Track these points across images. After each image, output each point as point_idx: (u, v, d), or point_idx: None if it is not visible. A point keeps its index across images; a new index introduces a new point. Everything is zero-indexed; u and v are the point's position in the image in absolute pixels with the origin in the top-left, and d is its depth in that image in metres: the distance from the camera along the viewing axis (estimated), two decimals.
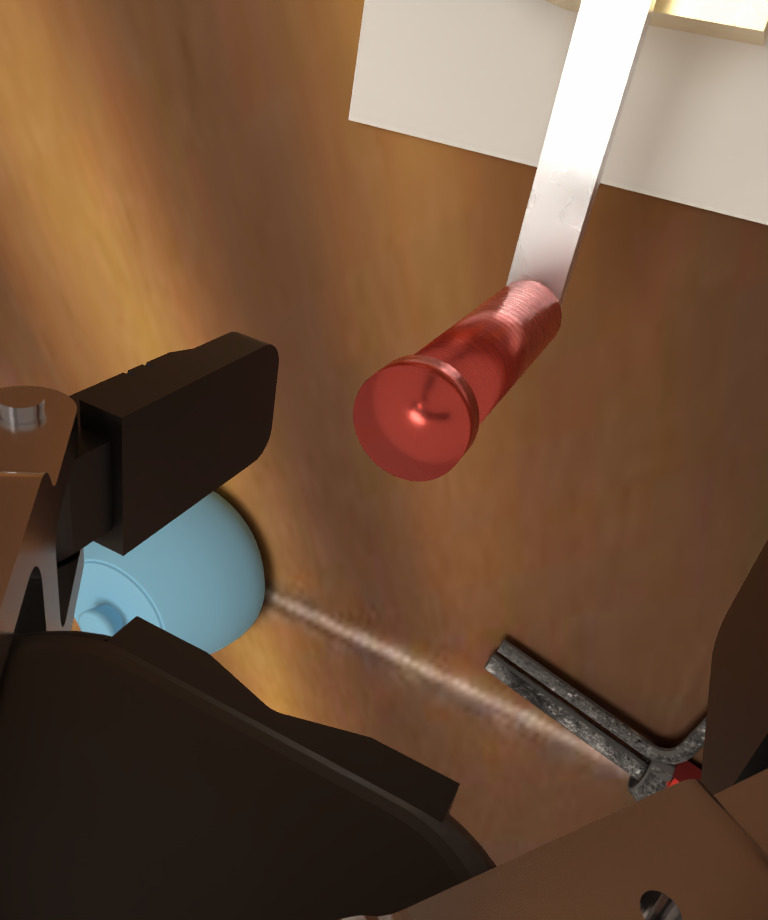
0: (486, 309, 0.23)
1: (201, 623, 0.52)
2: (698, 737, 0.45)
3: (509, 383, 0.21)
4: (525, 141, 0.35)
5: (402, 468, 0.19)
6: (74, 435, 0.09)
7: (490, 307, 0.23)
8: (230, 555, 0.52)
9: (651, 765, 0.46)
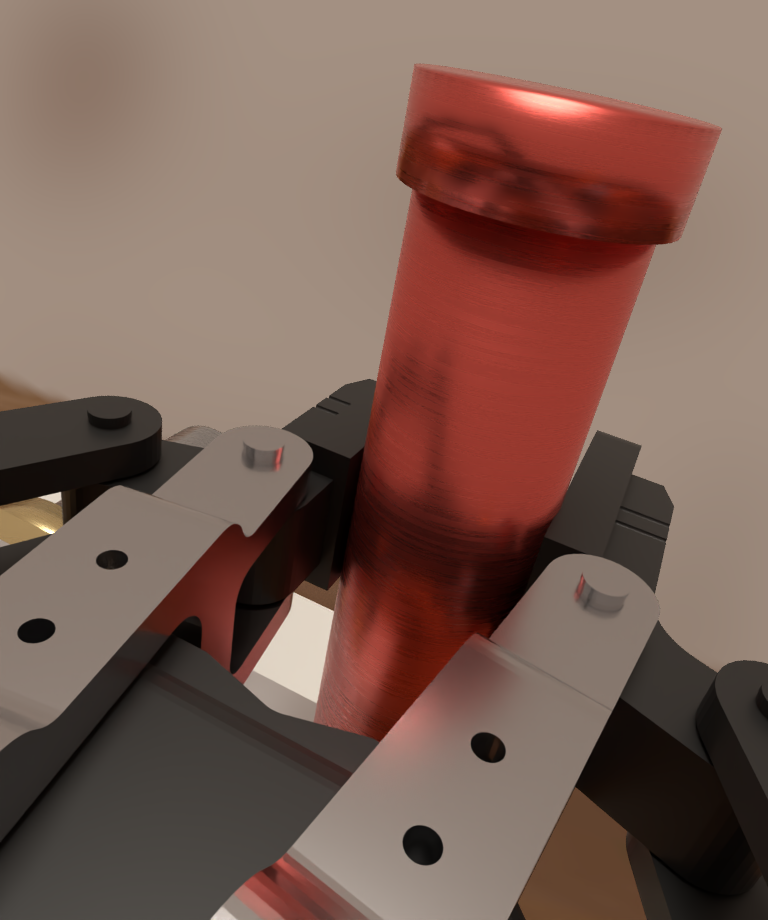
0: (340, 578, 0.11)
1: None
2: None
3: None
4: None
5: (690, 122, 0.07)
6: (299, 487, 0.09)
7: None
8: None
9: None
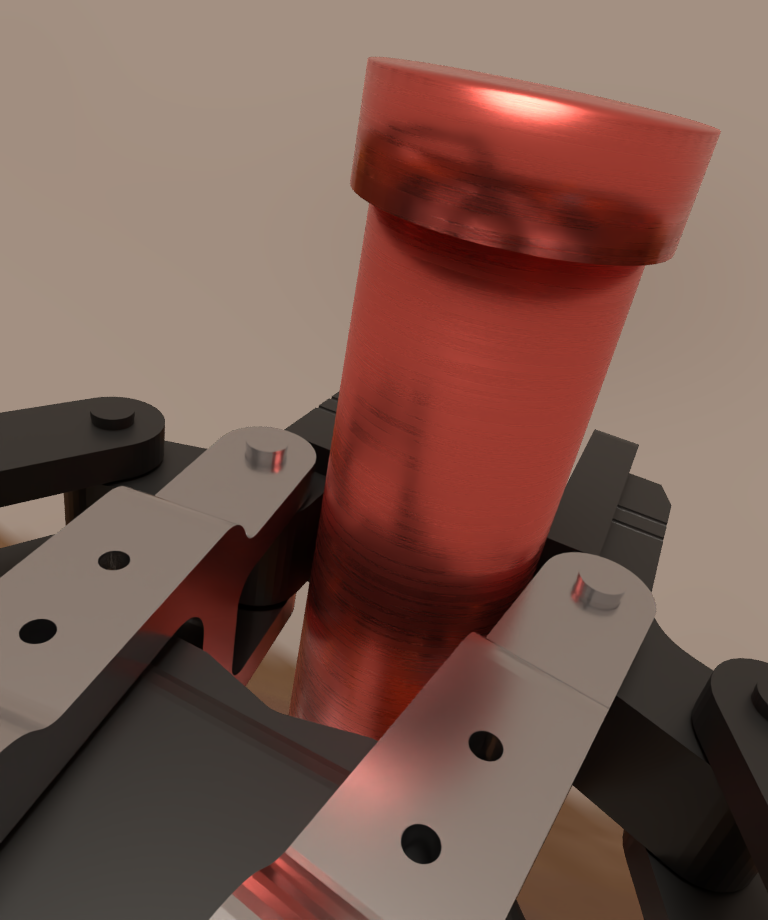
0: (321, 683, 0.09)
1: None
2: None
3: None
4: None
5: (642, 109, 0.07)
6: (302, 489, 0.09)
7: (316, 695, 0.09)
8: None
9: None
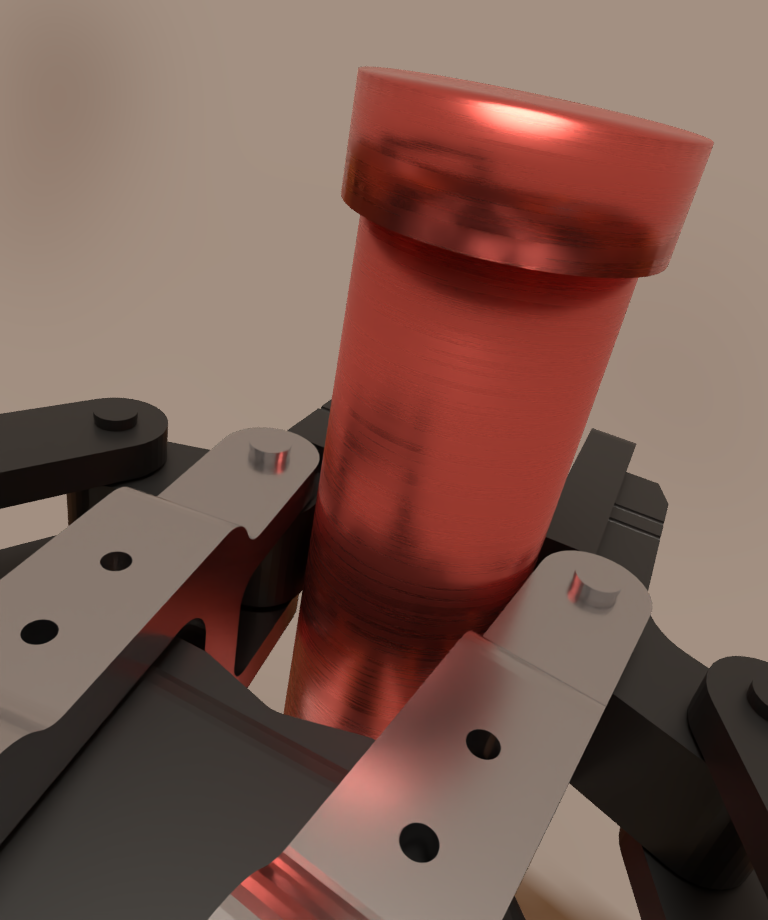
0: (372, 732, 0.08)
1: None
2: None
3: None
4: None
5: (567, 103, 0.07)
6: (305, 490, 0.09)
7: None
8: None
9: None
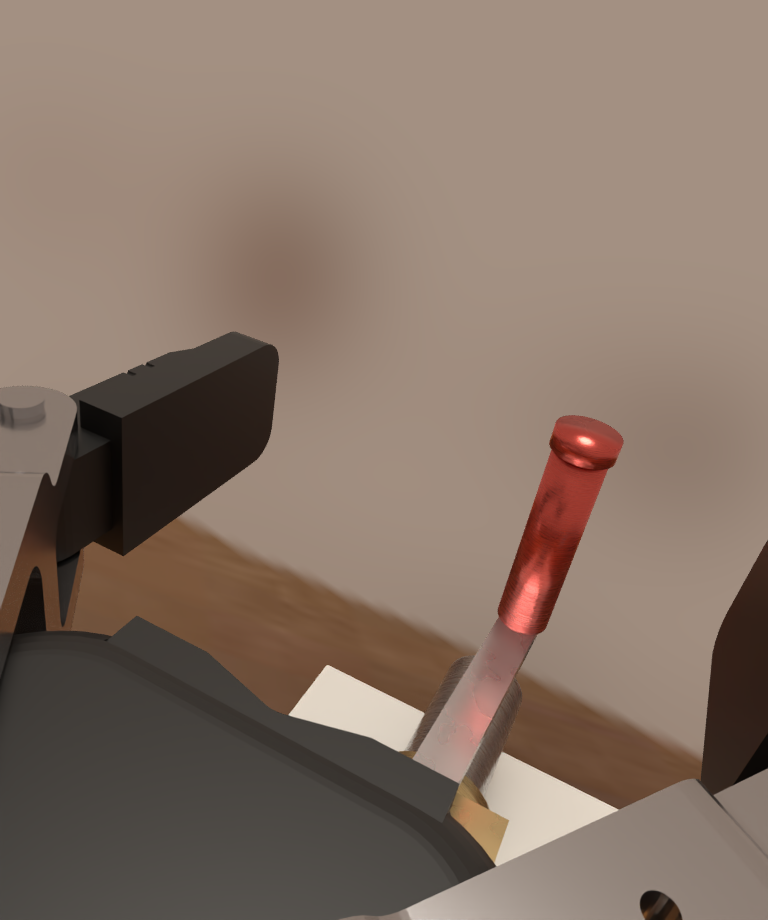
0: (547, 565, 0.34)
1: None
2: None
3: (533, 503, 0.35)
4: None
5: (593, 421, 0.33)
6: (74, 435, 0.09)
7: (545, 569, 0.35)
8: None
9: None
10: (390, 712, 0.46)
